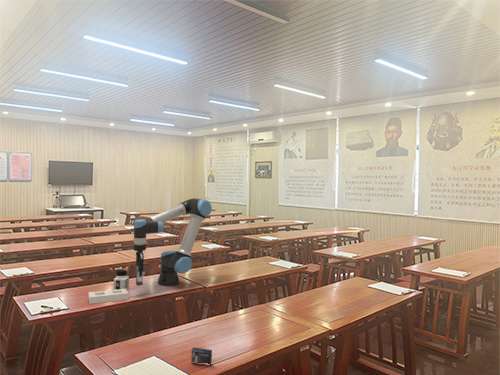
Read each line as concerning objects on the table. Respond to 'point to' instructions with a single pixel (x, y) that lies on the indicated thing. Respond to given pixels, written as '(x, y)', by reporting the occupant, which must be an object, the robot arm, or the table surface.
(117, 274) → the container
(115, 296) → the white slotted block
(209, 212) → the robot arm
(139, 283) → the pin
